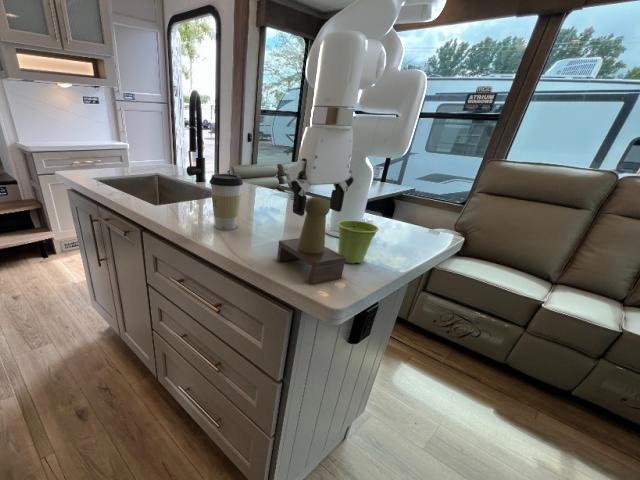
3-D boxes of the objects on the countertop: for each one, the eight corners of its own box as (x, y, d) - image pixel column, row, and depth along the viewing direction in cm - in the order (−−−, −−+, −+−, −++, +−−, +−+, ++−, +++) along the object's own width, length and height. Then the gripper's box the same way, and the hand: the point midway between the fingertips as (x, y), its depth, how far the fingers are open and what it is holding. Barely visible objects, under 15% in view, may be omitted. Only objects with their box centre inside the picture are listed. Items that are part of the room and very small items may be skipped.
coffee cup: (222, 220, 105) (223, 172, 97) (247, 226, 100) (249, 176, 92) (203, 227, 98) (202, 175, 90) (228, 233, 93) (229, 180, 85)
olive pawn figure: (324, 254, 68) (334, 202, 62) (296, 251, 69) (303, 199, 63) (324, 245, 73) (333, 196, 67) (297, 242, 74) (304, 194, 68)
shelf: (303, 256, 80) (306, 237, 78) (341, 278, 69) (346, 257, 67) (276, 260, 77) (278, 240, 74) (312, 284, 66) (315, 262, 64)
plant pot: (336, 249, 85) (343, 217, 81) (372, 257, 81) (382, 224, 77) (326, 260, 78) (333, 226, 74) (365, 270, 74) (375, 234, 70)
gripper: (352, 120, 64) (336, 204, 73) (281, 117, 58) (272, 211, 66) (381, 121, 59) (360, 213, 67) (305, 118, 52) (293, 221, 61)
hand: (317, 212), depth 67 cm, fingers open, 9 cm apart
